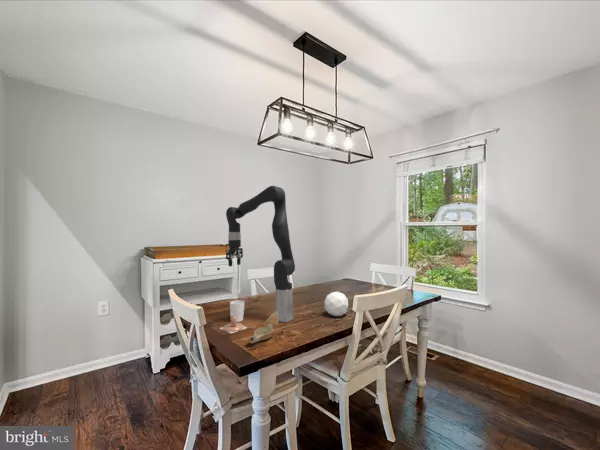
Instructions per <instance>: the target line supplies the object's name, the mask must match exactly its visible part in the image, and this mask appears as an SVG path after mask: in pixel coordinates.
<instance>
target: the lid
mask: <svg viewBox="0 0 600 450" xmlns="http://www.w3.org/2000/svg"><path fill="white" fill-rule="evenodd" d="M244 325H245V324H243V323H241V322H236V316H230V323H228V324H225V325H223V326H222V327H223V330H222V331H224V332H226V331H228V332H227V333H229V332H234V333H236V332H235V331H237V332H240V331H242V329H243V328H244ZM243 330H244V329H243Z"/></svg>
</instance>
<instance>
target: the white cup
mask: <svg viewBox="0 0 600 450" xmlns="http://www.w3.org/2000/svg"><path fill="white" fill-rule="evenodd" d="M244 313H245V301H244V300H241V299H240V300H239V299H237V300H232V301H230V302H229V314H230V317H231V316H236V323H240V322H242V321H244Z"/></svg>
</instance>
